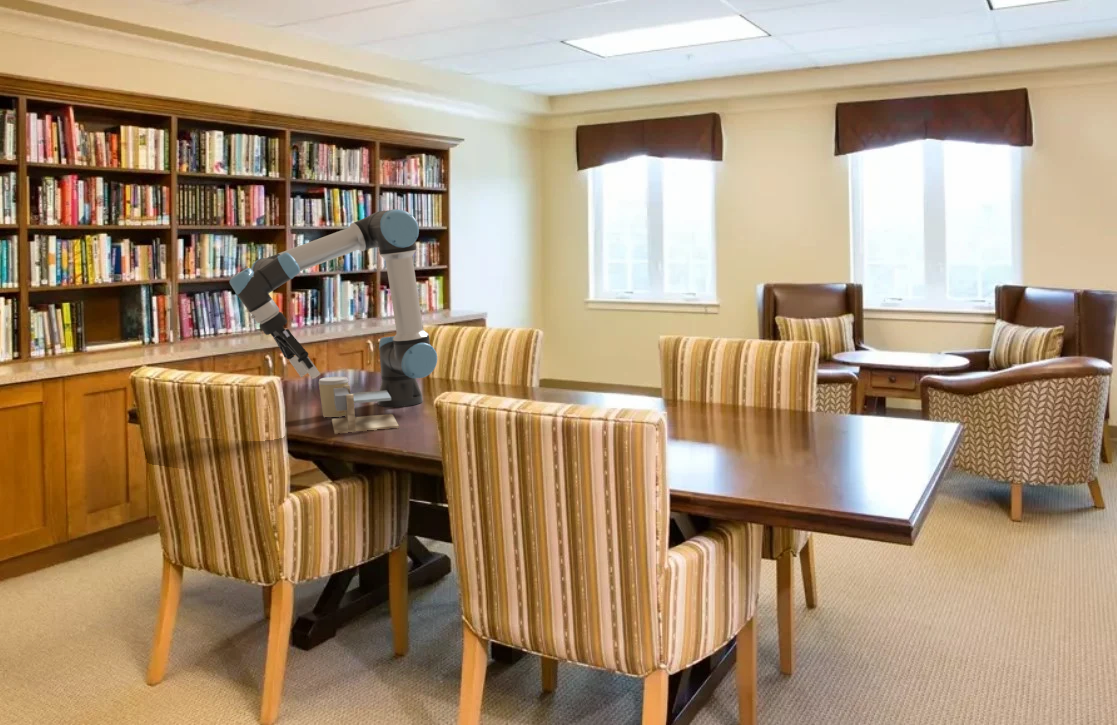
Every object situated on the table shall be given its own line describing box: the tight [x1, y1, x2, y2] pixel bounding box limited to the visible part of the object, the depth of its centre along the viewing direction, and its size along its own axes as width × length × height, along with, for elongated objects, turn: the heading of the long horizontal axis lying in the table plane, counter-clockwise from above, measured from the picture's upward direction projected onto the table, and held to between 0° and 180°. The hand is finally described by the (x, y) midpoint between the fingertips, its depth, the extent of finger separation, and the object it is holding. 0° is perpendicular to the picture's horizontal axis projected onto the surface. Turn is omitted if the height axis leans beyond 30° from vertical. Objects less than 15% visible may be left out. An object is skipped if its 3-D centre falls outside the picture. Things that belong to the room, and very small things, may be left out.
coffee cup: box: [318, 376, 349, 418], centre depth 292 cm, size 9×9×12 cm
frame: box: [331, 384, 400, 435], centre depth 276 cm, size 18×19×11 cm
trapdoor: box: [334, 388, 391, 411], centre depth 275 cm, size 16×14×4 cm
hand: (310, 375), depth 277 cm, fingers open, 13 cm apart
